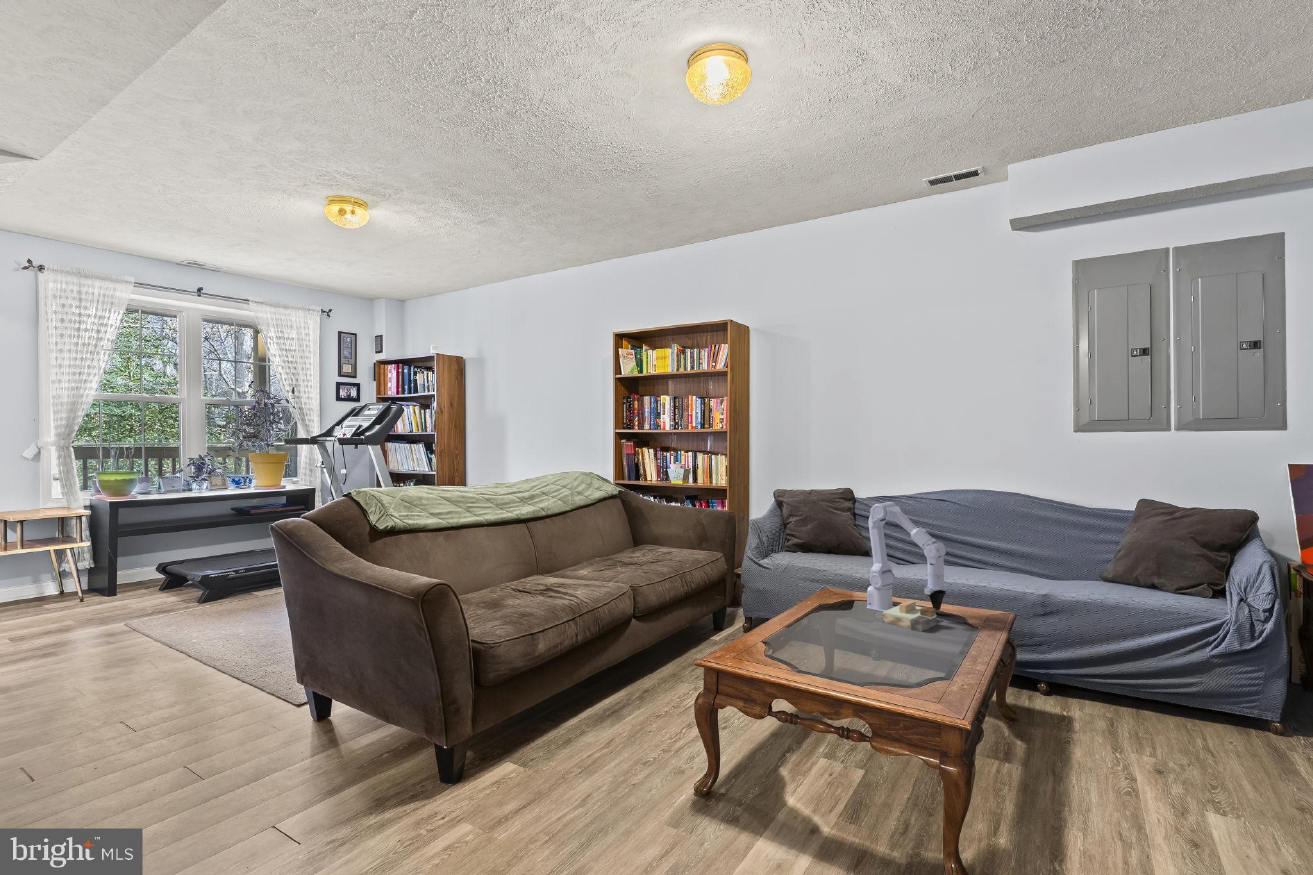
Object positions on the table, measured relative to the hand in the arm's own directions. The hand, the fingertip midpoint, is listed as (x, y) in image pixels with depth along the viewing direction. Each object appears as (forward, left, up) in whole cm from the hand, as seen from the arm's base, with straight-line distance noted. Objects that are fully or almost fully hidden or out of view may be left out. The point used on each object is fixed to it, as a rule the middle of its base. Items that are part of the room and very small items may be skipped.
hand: (936, 609), depth 240 cm
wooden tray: (-6, -7, -4) cm, 11 cm away
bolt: (0, -7, 0) cm, 7 cm away
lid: (-6, -7, -2) cm, 9 cm away
